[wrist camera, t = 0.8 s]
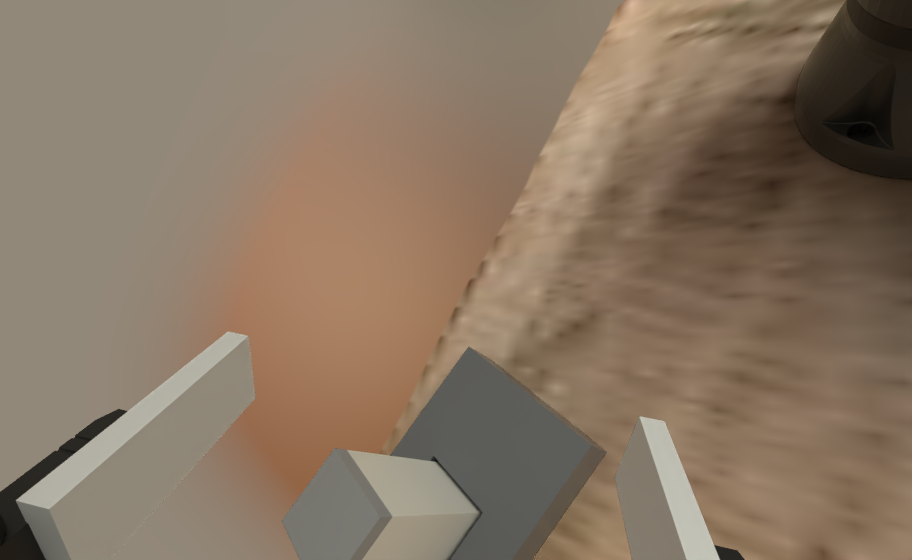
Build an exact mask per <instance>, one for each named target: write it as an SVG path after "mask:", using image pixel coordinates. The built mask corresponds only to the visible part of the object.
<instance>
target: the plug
mask: <svg viewBox="0 0 912 560" xmlns="http://www.w3.org/2000/svg"><path fill="white" fill-rule="evenodd" d="M482 513H483V512H482V511H481V510H480V509H479V507H478V506H477V505H476V504H475V503H474V502H473V501H472V499H471V498H470V497H469V496H468V495H467V494H466V492H465V491H464V490H463V489H462V488H461V487H460V486H459V484H458V483H457V482H456V481H455V480H454V479H453V477H452V476H451V475H450V474H449V473H448V472H447V471H446V469H445V468H444V467H443V466H442V465H441V464H440V462H433V461H426V460H418V459H411V458H404V457H396V456H389V455H381V454H373V453H366V452H359V451H351V450H344V449H337V448H334V450H333V451H332V453H331V454H330V455H329V457H328V458H327V459H326V461H325V462H324V464H323V465H322V467H321V468H320V469H319V471H318V472H317V473H316V475H315V476H314V477H313V479H312V480H311V482H310V483H309V484H308V486H307V487H306V489H305V490H304V491H303V492H302V494H301V495H300V497H299V498H298V499H297V501H296V502H295V503H294V505H293V506H292V508H291V509H290V510H289V512H288V513H287V514H286V516H285V517H284V519H283V520H282V523H283V525H284V527H285V529H286V531H287V533H288V535H289V538H290V540H291V542H292V544H293V546H294V548H295V551H296V552H297V555H298V557H299V559H300V560H450V559H451V557H452V556H453V555H454V553H455V552H456V550H457V549H458V547H459V546H460V545H461V543H462V542H463V540H464V539H465V537H466V536H467V535H468V533H469V532H470V530H471V529H472V528H473V526H474V525H475V523H476V522H477V520H478V519H479V518H480V516H481V515H482Z"/></svg>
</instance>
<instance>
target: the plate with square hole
mask: <svg viewBox="0 0 912 560" xmlns="http://www.w3.org/2000/svg"><path fill="white" fill-rule="evenodd" d="M605 454H606V451H605V450H604V449H603V448H601V447H600V446H599V445H598V444H596V443H595V442H594V441H593V440H591V439H590V438H589V437H588V436H586V435H585V434H584V433H583V432H581V431H580V430H579V429H578V428H576V427H575V426H574V425H573V424H571V423H570V422H569V421H568V420H566V419H565V418H564V417H563V416H561V415H560V414H559V413H557V412H556V411H555V410H554V409H552V408H551V407H550V406H549V405H547V404H546V403H545V402H544V401H542V400H541V399H540V398H539V397H537V396H536V395H535V394H534V393H532V392H531V391H530V390H529V389H527V388H526V387H525V386H524V385H522V384H521V383H520V382H519V381H517V380H516V379H515V378H514V377H512V376H511V375H510V374H509V373H507V372H506V371H505V370H504V369H502V368H501V367H500V366H499V365H497V364H496V363H495V362H494V361H492V360H491V359H489V358H487V357H486V356H484V355H482V354H480V353H479V352H477V351H475V350H474V349H472V348H470V347H468V348H467V350H466V351H465V352H464V354H463V355H462V357H461V358H460V359H459V361H458V362H457V364H456V365H455V366H454V368H453V369H452V370H451V372H450V373H449V375H448V376H447V377H446V379H445V380H444V382H443V383H442V384H441V386H440V387H439V389H438V390H437V391H436V393H435V394H434V395H433V397H432V398H431V400H430V401H429V402H428V404H427V405H426V407H425V408H424V409H423V411H422V412H421V414H420V415H419V416H418V418H417V419H416V420H415V422H414V423H413V425H412V426H411V427H410V429H409V430H408V432H407V433H406V434H405V436H404V437H403V439H402V440H401V441H400V443H399V444H398V445H397V447H396V448H395V450H394V451H393V452H392V454H391V455H390V456H396V457H404V458H411V459H418V460H426V461H433V462H440V464H441V465H442V466H443V467H444V468H445V469H446V471H447V472H448V473H449V474H450V475H451V476H452V477H453V479H454V480H455V481H456V482H457V483H458V484H459V486H460V487H461V488H462V489H463V490H464V491H465V492H466V494H467V495H468V496H469V497H470V498H471V499H472V501H473V502H474V503H475V504H476V505H477V506H478V507H479V509H480V510H481V511H482V512H483V513H482V515H481V516H480V518H479V519H478V520H477V522H476V523H475V525H474V526H473V528H472V529H471V530H470V532H469V533H468V535H467V536H466V537H465V539H464V540H463V542H462V543H461V545H460V546H459V547H458V549H457V550H456V552H455V553H454V555H453V556H452V557H451V559H450V560H532V559H533V558H534V556H535V555H536V553H537V552H538V551H539V549H540V548H541V546H542V545H543V543H544V542H545V540H546V539H547V538H548V536H549V535H550V533H551V532H552V530H553V529H554V527H555V526H556V525H557V523H558V522H559V520H560V519H561V517H562V516H563V514H564V513H565V512H566V510H567V509H568V507H569V506H570V504H571V503H572V501H573V500H574V499H575V497H576V496H577V494H578V493H579V491H580V490H581V488H582V487H583V486H584V484H585V483H586V481H587V480H588V478H589V477H590V476H591V474H592V473H593V471H594V470H595V468H596V467H597V465H598V464H599V463H600V461H601V460H602V458H603V457H604V455H605Z"/></svg>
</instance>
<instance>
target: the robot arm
mask: <svg viewBox="0 0 912 560" xmlns="http://www.w3.org/2000/svg"><path fill="white" fill-rule="evenodd" d="M794 114H795V120H796V123H797V126H798V128H799V130H800V132H801V133H802V135H803V137H804V138H805V139H806V140H807V142H808V143H809V144H810V145H811V146H812V147H814V148H815V149H816V150H817V151H818V152H820V153H821V154H823V155H824V156H826V157H827V158H829V159H831V160H833V161H835V162H837V163H839V164H841V165H844V166H846V167H849V168H852V169H855V170H858V171H861V172H865V173H869V174H873V175H879V176H884V177H891V178H901V179H912V0H846V1H845V3H844V4H843V6H842V7H841V9H840V10H839V12H838V13H837V15H836V16H835V18H834V19H833V21H832V22H831V24H830V25H829V27H828V28H827V30H826V31H825V33H824V34H823V36H822V37H821V39H820V40H819V42H818V43H817V45H816V46H815V48H814V49H813V51H812V53H811V54H810V56H809V57H808V59H807V61H806V62H805V64H804V66H803V69H802V71H801V74H800V77H799V80H798V86H797V91H796V97H795V103H794ZM254 399H255V390H254V381H253V372H252V363H251V353H250V344H249V336H247V335H242V334H237V333H232V332H227V333H226V334H224V335H223V336H222V337H221V338H220V339H218V340H217V341H216V342H214V343H213V344H212V345H211V346H209V347H208V348H207V349H206V350H204V351H203V352H202V353H201V354H199V355H198V356H197V357H196V358H194V359H193V360H192V361H190V362H189V363H188V364H187V365H185V366H184V367H183V368H182V369H181V370H179V371H178V372H177V373H175V374H174V375H173V376H172V377H170V378H169V379H168V380H167V381H166V382H164V383H163V384H162V385H160V386H159V387H158V388H157V389H156V390H154V391H153V392H152V393H150V394H149V395H148V396H146V397H145V398H144V399H143V400H142V401H140V402H139V403H138V404H136V405H135V406H134V407H133V408H131V409H130V410H129V411H125V410H120V409H118V410H116V411H114V412H112V413H110V414H107V415H105V416H104V417H101V418H99V419H97V420H95V421H94V422H92V423H91V424H90V425H88V426H87V427H86V428H84V429H83V430H82V431H80V432H79V433H78V434H76V435H75V438H72V439H70V440H69V441H67V442H66V443H65V444H63V445H62V446H61V447H60V448H59V450H58V451H54V452H53V453H51V454H50V455H49V456H48V457H46V458H45V459H43V460H42V461H41V462H40V463H38V464H37V465H36V466H34V467H33V468H32V469H30V470H29V471H27V472H26V473H25V474H24V475H22V476H21V477H20V478H18V479H17V480H16V481H14V482H13V483H12V484H10V485H9V486H8V487H6V488H5V489H4V490H2V491H1V492H0V560H111V559H112V557H113V556H114V555H115V554H116V553H117V552H118V551H119V550H120V548H121V547H122V546H123V545H124V544H125V543H126V542H127V541H128V540H129V538H130V537H131V536H132V535H133V534H134V533H135V532H136V531H137V530H138V528H139V527H140V526H141V525H142V524H143V523H144V522H145V521H146V519H147V518H148V517H149V516H150V515H151V514H152V513H153V512H154V511H155V509H156V508H157V507H158V506H159V505H160V504H161V502H163V501H164V499H165V498H166V497H167V496H168V495H169V494H170V493H171V492H172V491H173V489H174V488H175V487H176V486H177V485H178V484H179V483H180V482H181V481H182V479H183V478H184V477H185V476H186V475H187V474H188V473H189V471H191V469H192V468H193V467H194V466H195V465H196V464H197V463H198V462H199V460H200V459H201V458H202V457H203V456H204V455H205V454H206V453H207V451H208V450H209V449H210V448H211V447H212V446H213V445H214V444H215V443H216V442H217V440H218V439H219V438H220V437H221V436H222V435H223V434H224V433H225V432H226V430H227V429H228V428H229V427H230V426H231V425H232V424H233V423H234V422H235V420H236V419H237V418H238V417H239V416H240V415H241V414H242V412H243V411H244V410H245V409H246V408H247V407H248V406H249V405H250V404H251V403H252V401H253V400H254ZM615 482H616V487H617V491H618V496H619V501H620V505H621V510H622V515H623V519H624V524H625V529H626V534H627V538H628V543H629V548H630V552H631V557H632V560H745V559H744V558H743V557H742V556H741V554H740V553H739V552H738V551H737V550H733V549H728V548H724V547H720V546H715V545H714V544H713V541H712V539H711V536H710V534H709V531H708V529H707V526H706V524H705V521H704V519H703V516H702V514H701V511H700V509H699V506H698V504H697V501H696V499H695V496H694V494H693V491H692V489H691V486H690V484H689V481H688V479H687V476H686V474H685V471H684V469H683V466H682V464H681V461H680V459H679V456H678V454H677V451H676V449H675V446H674V444H673V441H672V439H671V436H670V434H669V431H668V429H667V426H666V424H665V421H661V420H656V419H651V418H647V417H642V416H639V418H638V421H637V423H636V426H635V428H634V431H633V433H632V435H631V438H630V440H629V443H628V445H627V448H626V450H625V453H624V455H623V458H622V460H621V463H620V465H619V468H618V470H617V473H616V475H615Z"/></svg>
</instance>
